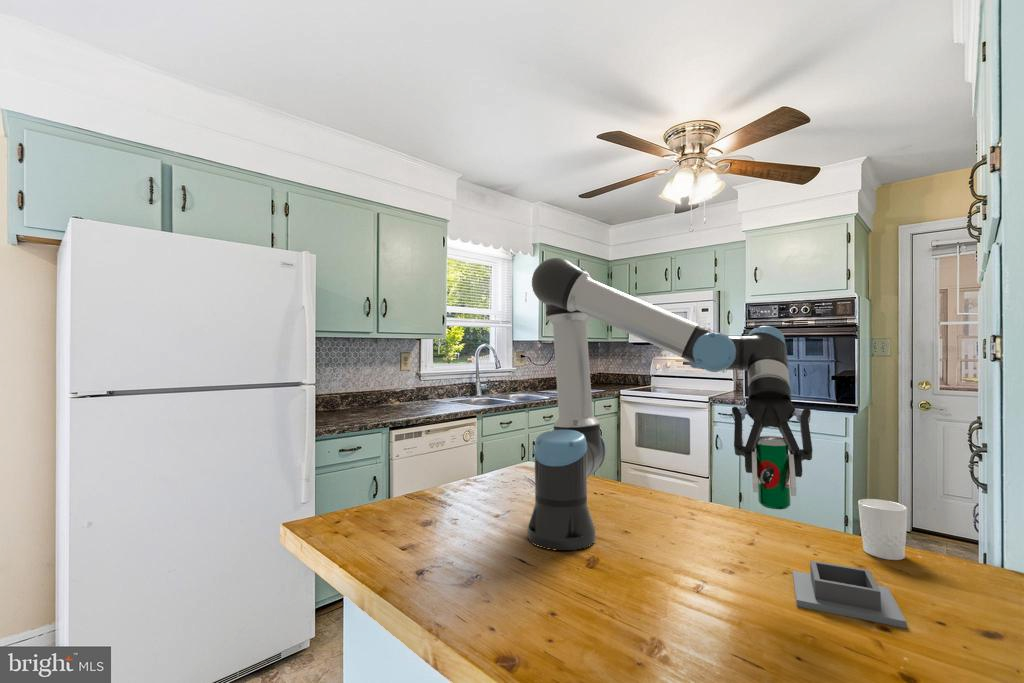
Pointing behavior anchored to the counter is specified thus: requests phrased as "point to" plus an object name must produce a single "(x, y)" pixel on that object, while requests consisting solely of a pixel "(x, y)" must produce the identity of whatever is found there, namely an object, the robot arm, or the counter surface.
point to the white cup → (883, 528)
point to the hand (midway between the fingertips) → (774, 489)
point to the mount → (846, 593)
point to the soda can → (773, 472)
